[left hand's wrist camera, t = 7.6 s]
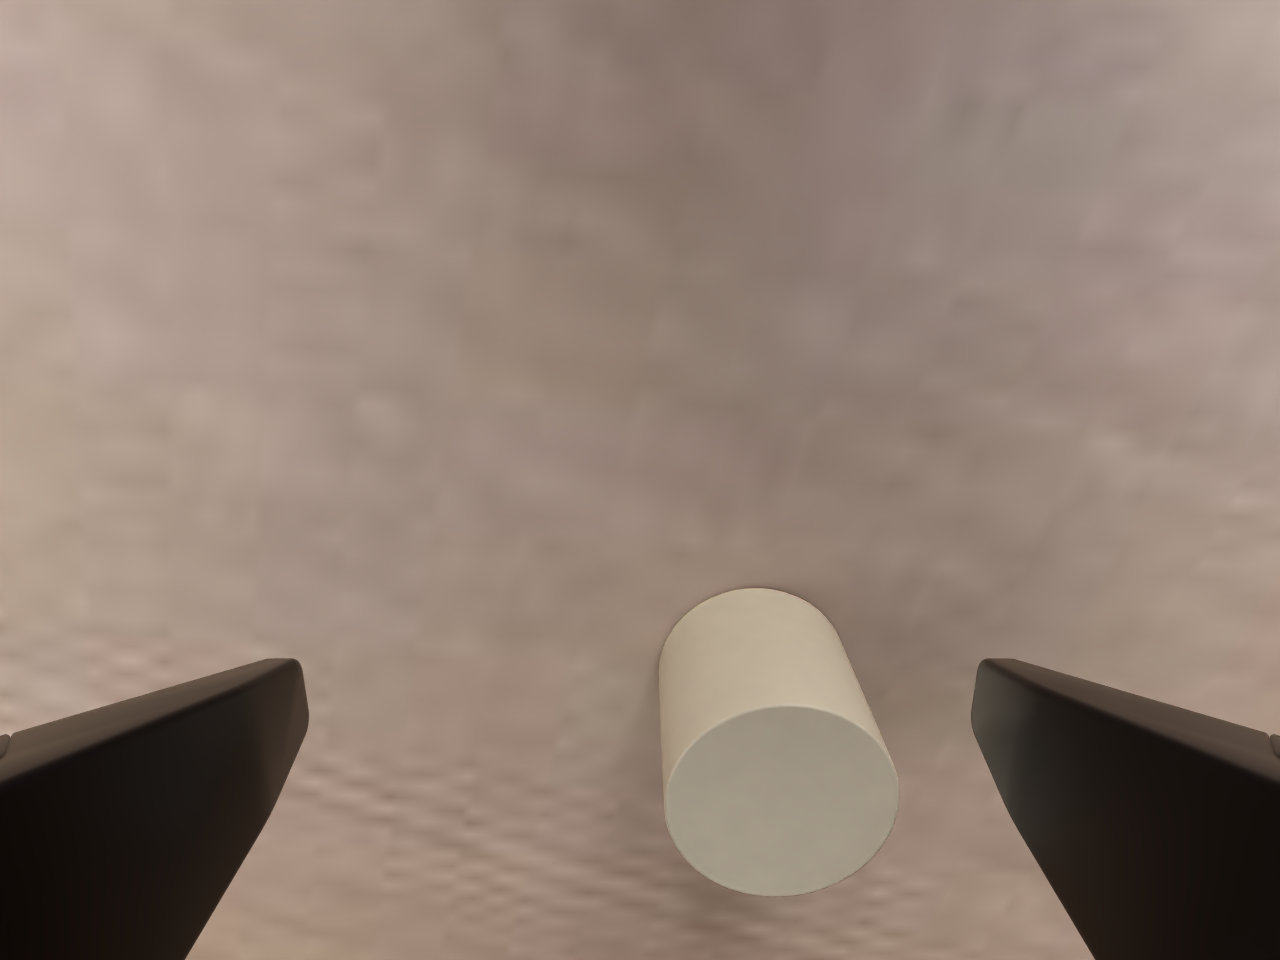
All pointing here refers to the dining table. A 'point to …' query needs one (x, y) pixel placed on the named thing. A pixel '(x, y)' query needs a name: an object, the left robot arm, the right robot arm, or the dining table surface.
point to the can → (770, 747)
